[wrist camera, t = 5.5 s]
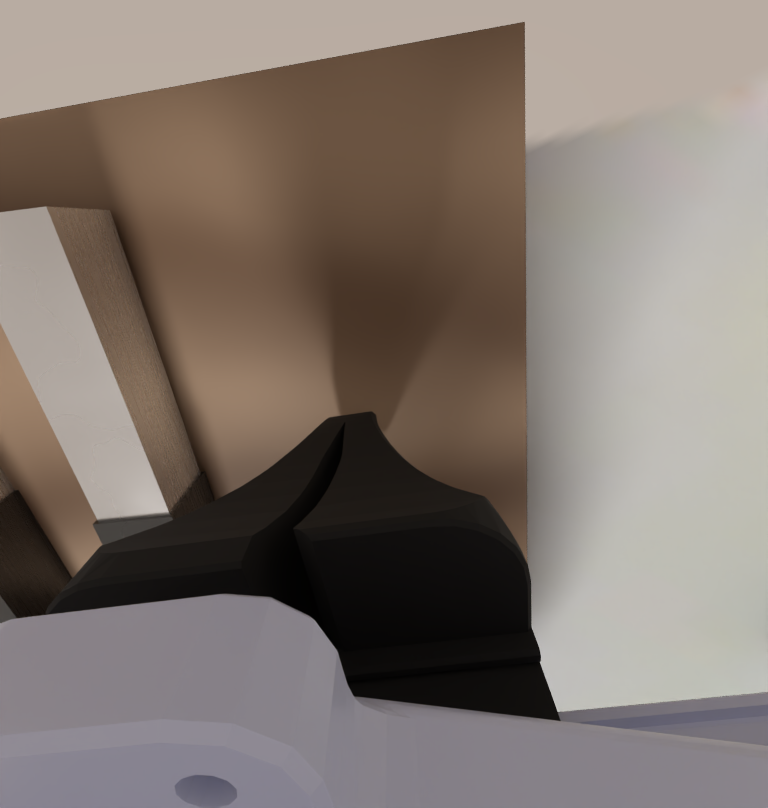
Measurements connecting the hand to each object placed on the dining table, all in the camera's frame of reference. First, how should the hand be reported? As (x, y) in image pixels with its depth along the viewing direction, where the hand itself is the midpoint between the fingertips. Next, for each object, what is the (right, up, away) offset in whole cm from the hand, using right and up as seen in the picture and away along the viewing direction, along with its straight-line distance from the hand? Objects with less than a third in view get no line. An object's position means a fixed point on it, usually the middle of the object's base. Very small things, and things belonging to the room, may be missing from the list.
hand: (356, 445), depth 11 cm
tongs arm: (-8, -3, +2) cm, 8 cm away
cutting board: (-5, -2, +3) cm, 6 cm away
